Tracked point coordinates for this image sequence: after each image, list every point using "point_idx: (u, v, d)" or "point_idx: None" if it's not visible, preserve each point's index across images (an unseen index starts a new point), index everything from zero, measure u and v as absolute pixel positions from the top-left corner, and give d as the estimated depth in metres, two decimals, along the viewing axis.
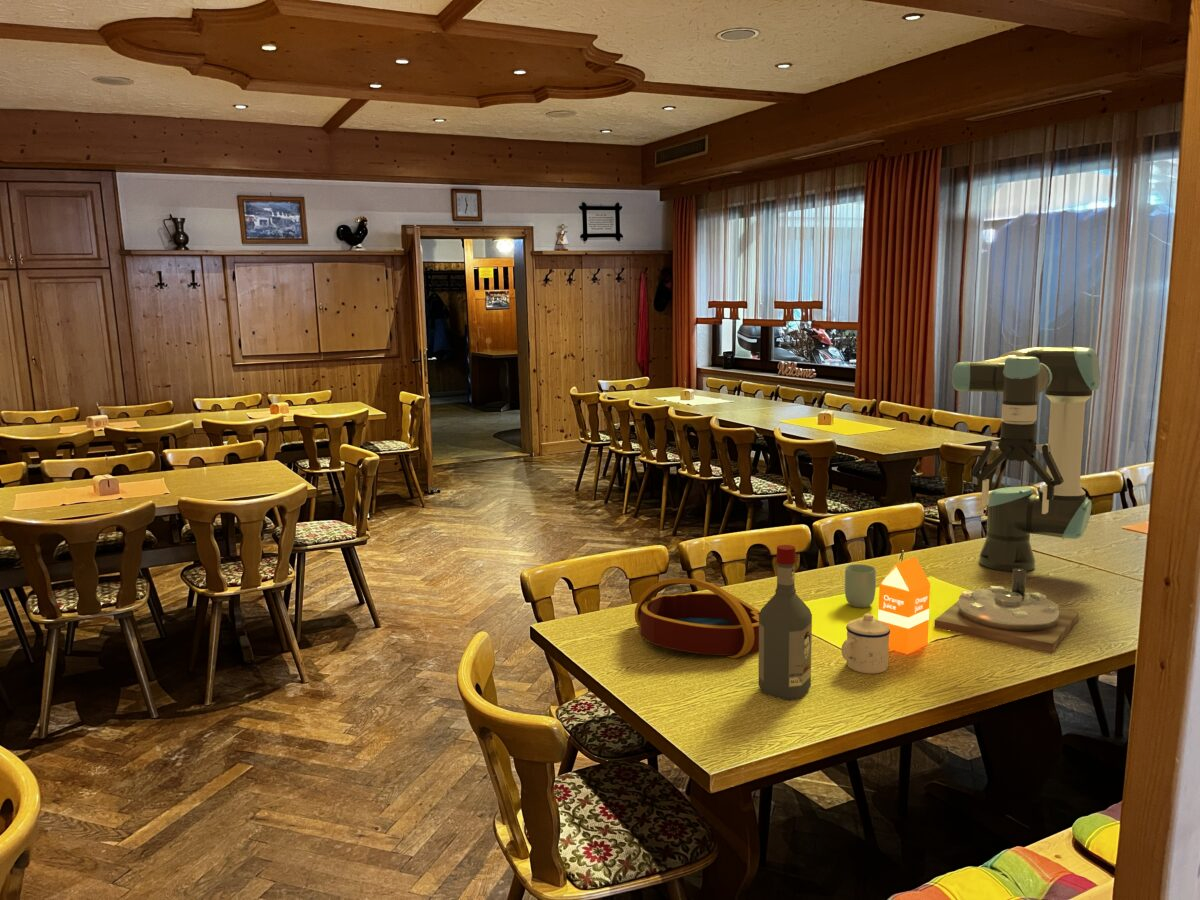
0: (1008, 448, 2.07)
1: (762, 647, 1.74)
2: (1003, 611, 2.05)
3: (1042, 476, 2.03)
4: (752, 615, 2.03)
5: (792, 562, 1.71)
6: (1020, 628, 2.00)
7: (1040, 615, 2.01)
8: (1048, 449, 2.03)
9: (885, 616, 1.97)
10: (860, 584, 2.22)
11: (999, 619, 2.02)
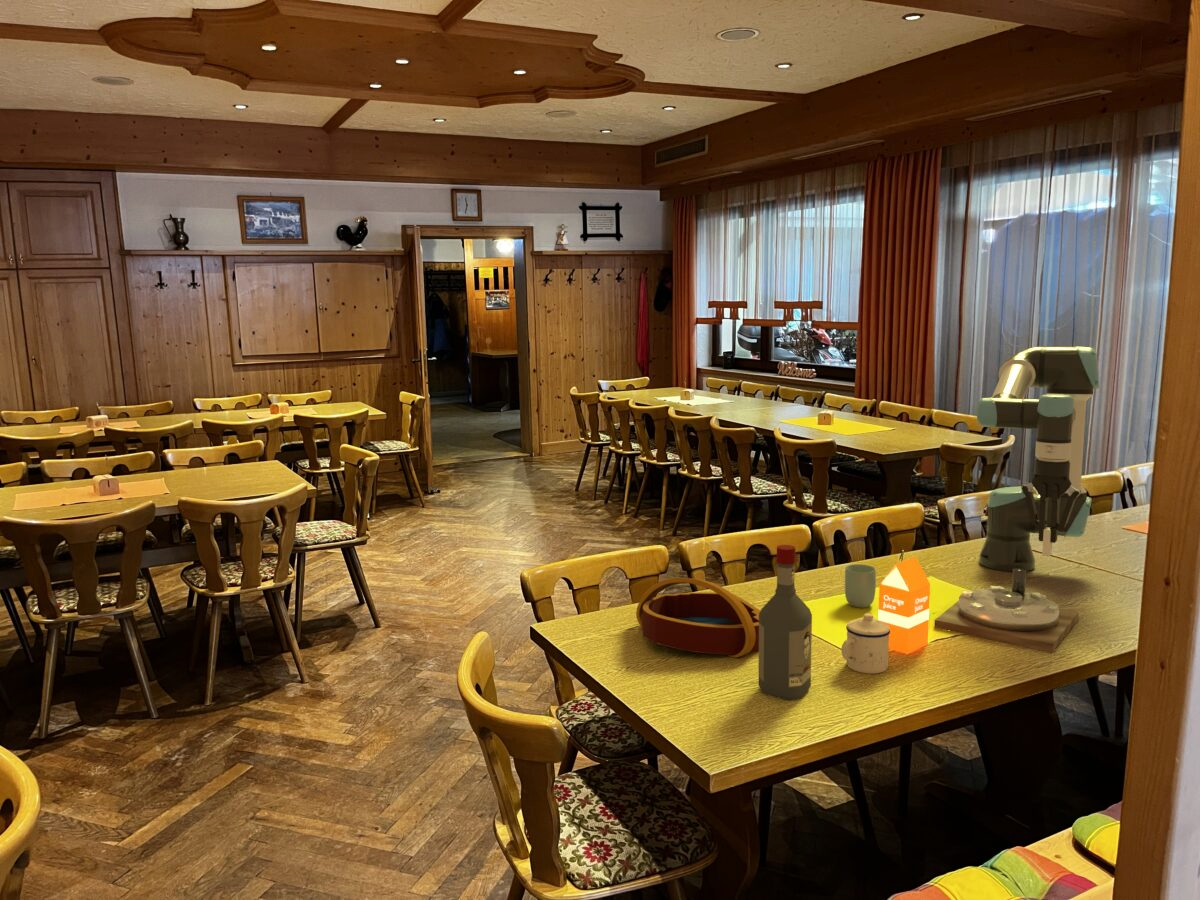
0: (1041, 486, 2.09)
1: (762, 647, 1.74)
2: (1003, 611, 2.05)
3: (1053, 518, 2.09)
4: (753, 615, 2.04)
5: (792, 562, 1.71)
6: (1020, 628, 2.00)
7: (1040, 615, 2.01)
8: (1077, 496, 2.05)
9: (885, 616, 1.97)
10: (860, 584, 2.22)
11: (999, 619, 2.02)
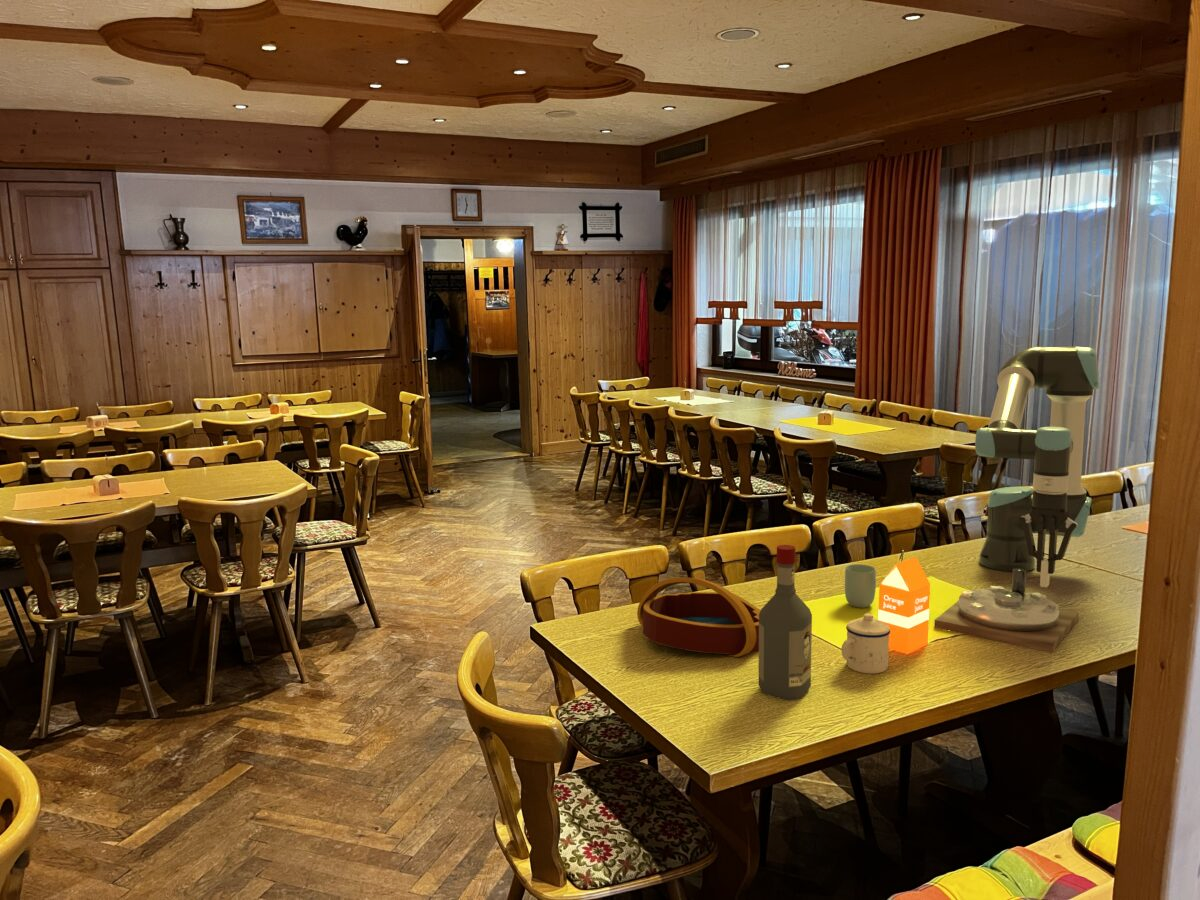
0: (1039, 517, 2.10)
1: (762, 647, 1.74)
2: (1003, 611, 2.05)
3: (1050, 549, 2.10)
4: (754, 614, 2.04)
5: (792, 562, 1.71)
6: (1020, 628, 2.00)
7: (1040, 615, 2.01)
8: (1074, 528, 2.07)
9: (885, 616, 1.97)
10: (860, 584, 2.22)
11: (999, 619, 2.02)
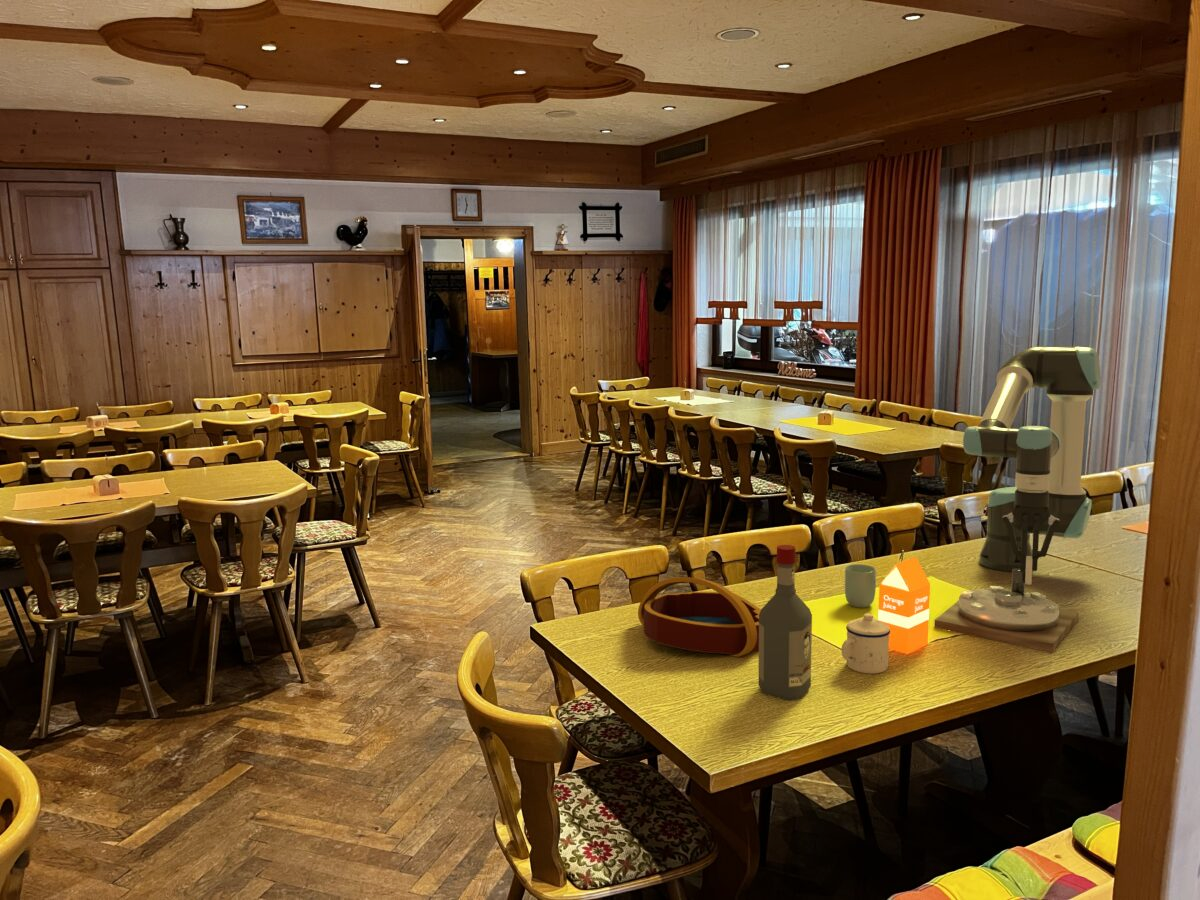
0: (1024, 516, 2.12)
1: (762, 647, 1.74)
2: (1003, 611, 2.04)
3: (1034, 547, 2.13)
4: (755, 614, 2.04)
5: (792, 562, 1.71)
6: (1021, 628, 2.00)
7: (1041, 615, 2.01)
8: None
9: (885, 616, 1.97)
10: (860, 584, 2.22)
11: (1000, 619, 2.02)
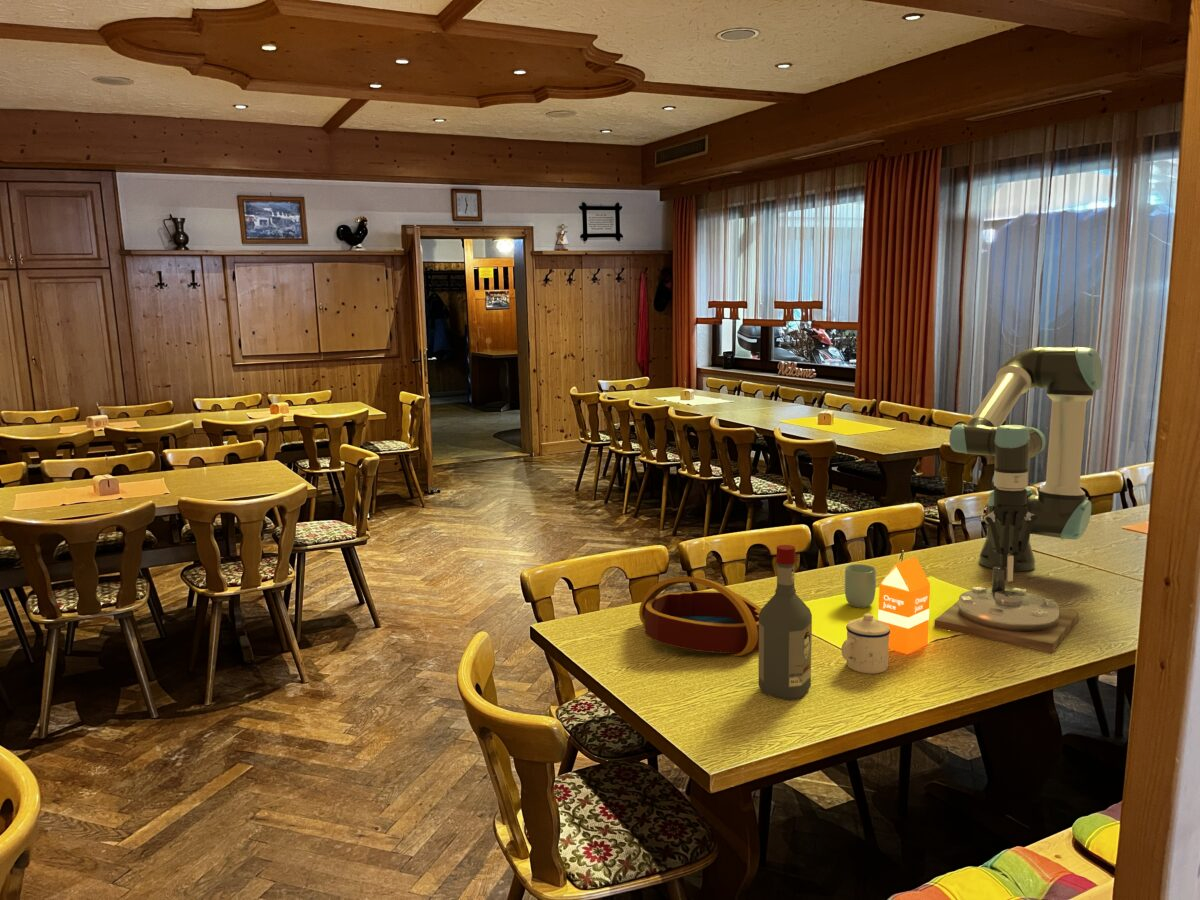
0: (1007, 515, 2.14)
1: (762, 647, 1.74)
2: (1020, 612, 2.03)
3: (1015, 544, 2.16)
4: (756, 613, 2.05)
5: (791, 562, 1.71)
6: (1043, 627, 2.01)
7: (1052, 611, 2.04)
8: None
9: (885, 616, 1.97)
10: (860, 584, 2.22)
11: (1026, 622, 2.00)
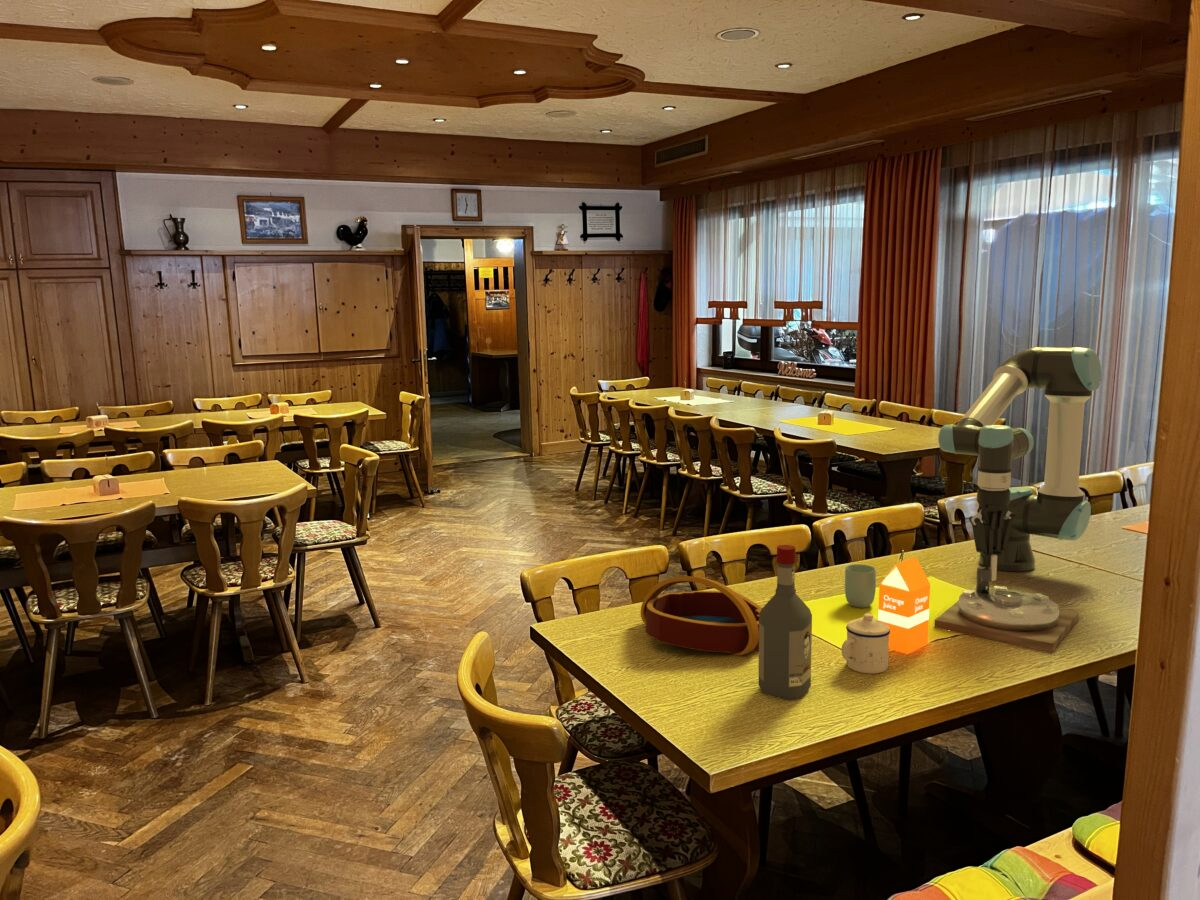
0: (993, 515, 2.14)
1: (762, 647, 1.74)
2: (1033, 611, 2.04)
3: (998, 543, 2.17)
4: (757, 613, 2.05)
5: (792, 562, 1.71)
6: (1056, 623, 2.03)
7: (1053, 605, 2.08)
8: None
9: (885, 616, 1.97)
10: (860, 584, 2.22)
11: (1045, 620, 2.01)
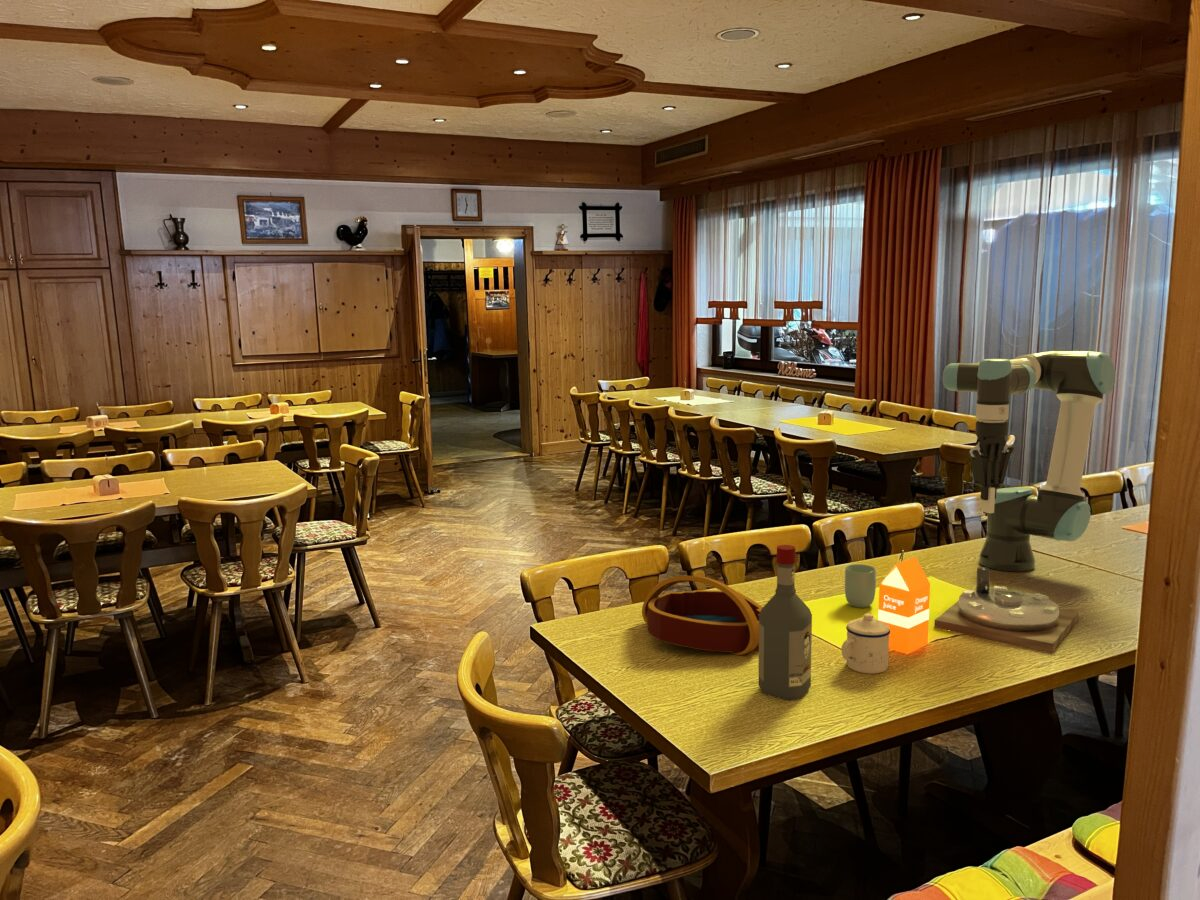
0: (991, 447, 2.17)
1: (762, 647, 1.74)
2: (1033, 611, 2.04)
3: (996, 475, 2.20)
4: (758, 612, 2.05)
5: (792, 562, 1.71)
6: (1056, 623, 2.03)
7: (1053, 605, 2.08)
8: None
9: (885, 616, 1.97)
10: (860, 584, 2.22)
11: (1045, 620, 2.01)
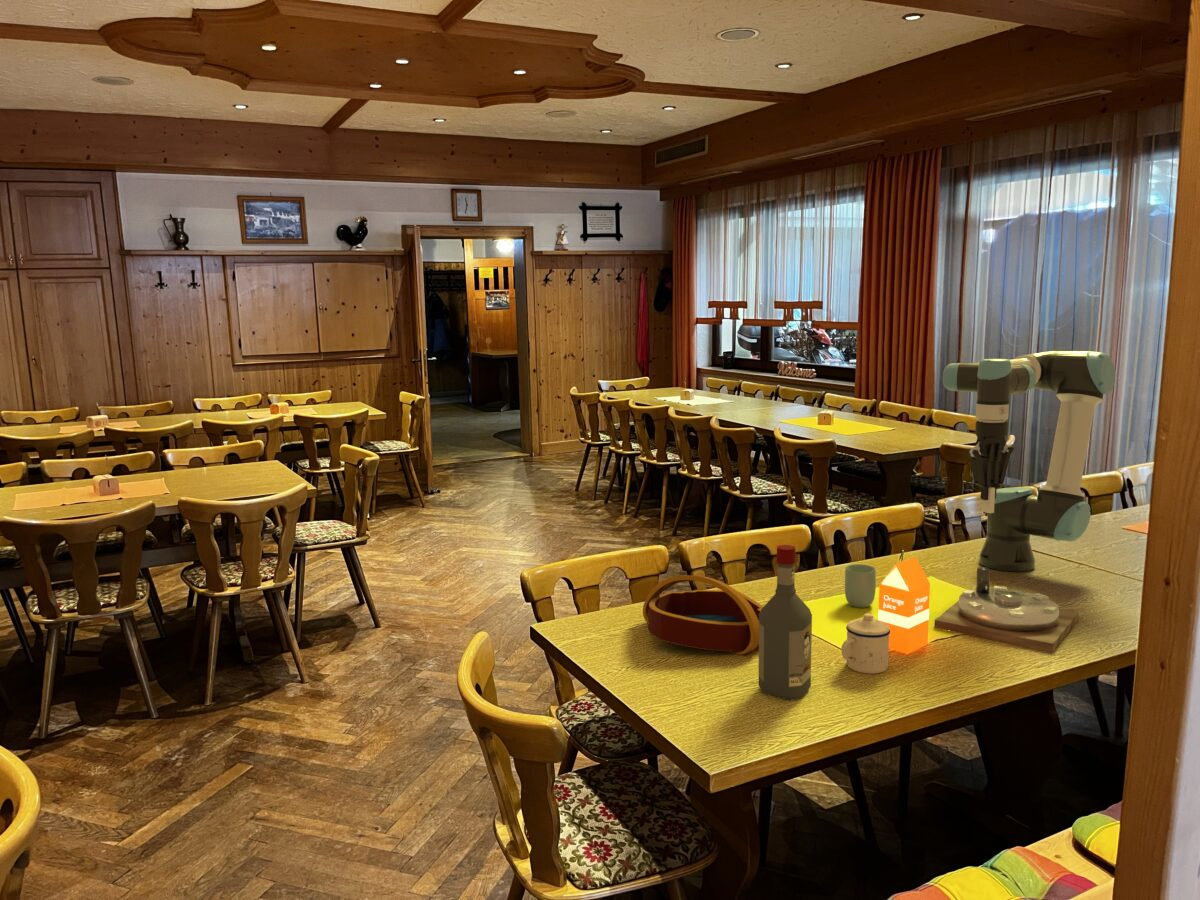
0: (991, 447, 2.17)
1: (762, 647, 1.74)
2: (1033, 611, 2.04)
3: (996, 475, 2.20)
4: (759, 612, 2.05)
5: (792, 562, 1.71)
6: (1056, 623, 2.03)
7: (1053, 605, 2.08)
8: None
9: (885, 616, 1.97)
10: (860, 584, 2.22)
11: (1045, 620, 2.01)
